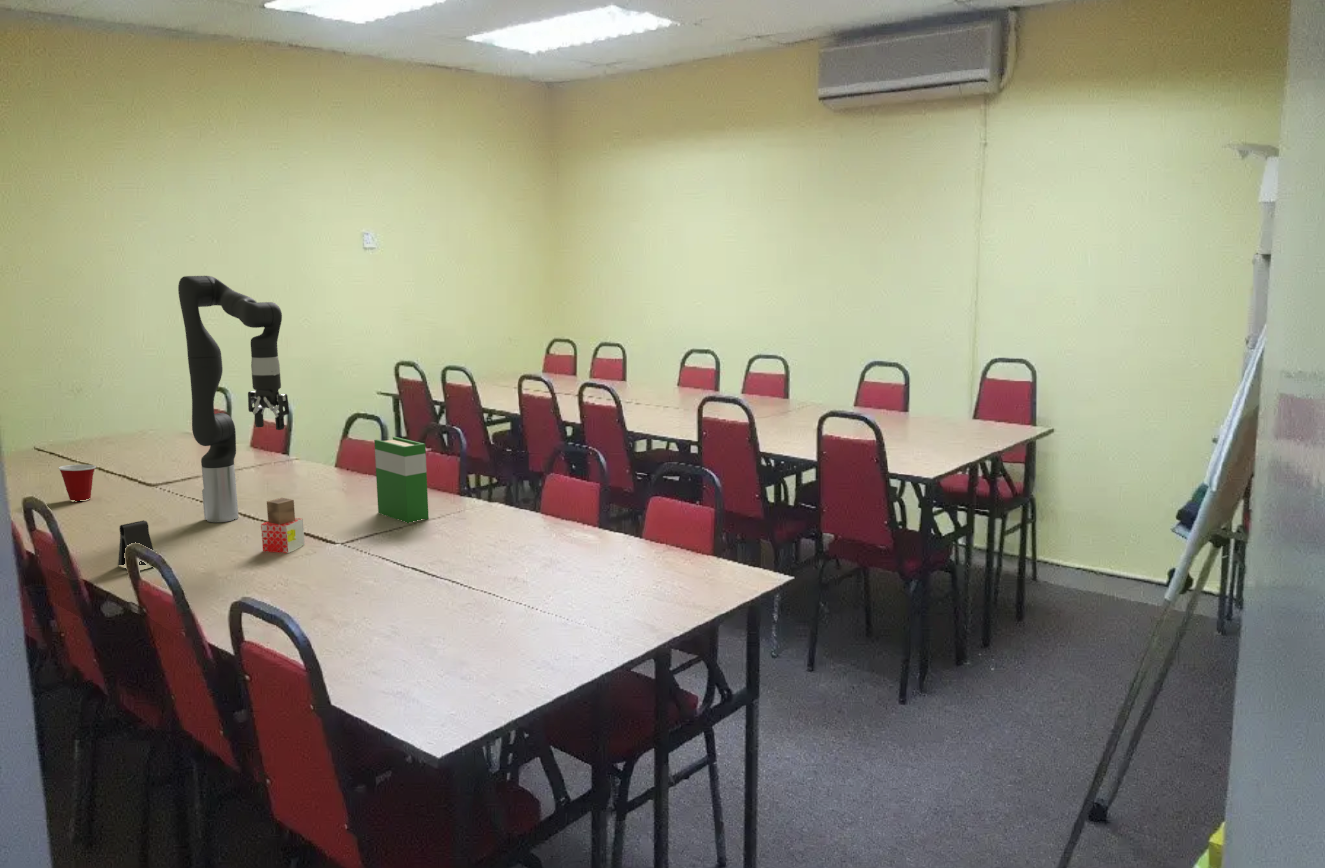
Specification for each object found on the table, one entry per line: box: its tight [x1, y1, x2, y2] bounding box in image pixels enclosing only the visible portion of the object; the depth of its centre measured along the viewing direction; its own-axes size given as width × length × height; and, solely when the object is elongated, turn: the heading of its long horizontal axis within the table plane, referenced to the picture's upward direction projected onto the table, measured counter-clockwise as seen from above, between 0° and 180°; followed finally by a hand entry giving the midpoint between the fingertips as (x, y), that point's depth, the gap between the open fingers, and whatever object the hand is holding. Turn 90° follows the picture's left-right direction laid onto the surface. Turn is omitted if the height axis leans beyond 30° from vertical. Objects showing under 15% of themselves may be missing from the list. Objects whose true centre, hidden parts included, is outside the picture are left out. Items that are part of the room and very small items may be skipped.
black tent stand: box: [117, 520, 154, 570], centre depth 247 cm, size 9×6×12 cm, turn 53°
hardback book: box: [374, 436, 430, 524], centre depth 297 cm, size 18×7×24 cm, turn 46°
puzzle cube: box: [260, 517, 306, 554], centre depth 264 cm, size 8×8×8 cm
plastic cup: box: [58, 464, 97, 501], centre depth 317 cm, size 11×11×12 cm
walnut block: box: [266, 497, 296, 525], centre depth 263 cm, size 5×5×6 cm
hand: (269, 428), depth 272 cm, fingers open, 8 cm apart
